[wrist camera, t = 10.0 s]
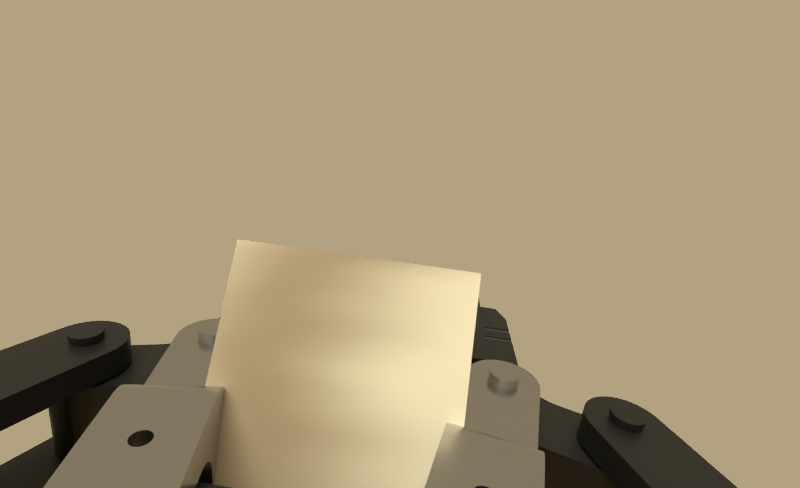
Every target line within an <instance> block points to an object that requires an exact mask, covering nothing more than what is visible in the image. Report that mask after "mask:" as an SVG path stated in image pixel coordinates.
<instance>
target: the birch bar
mask: <svg viewBox="0 0 800 488" xmlns="http://www.w3.org/2000/svg"><path fill="white" fill-rule="evenodd" d="M480 279H481V273H474V272H466V271H460V270H453V269H445V268H439V267H430V266H424V265H417V264H410V263H402V262H395V261H388V260H381V259H374V258H367V257H359V256H353V255H345V254H338V253H331V252H324V251H317V250H309V249H303V248H295V247H289V246H281V245H274V244H267V243H260V242H253V241H246V240H237V245H236V249H235V254H234V258H233V263H232V267H231V272H230V276H229V281H228V285H227V290H226V294H225V299H224V303H223V308H222V312H221V317H220V321H219V325H218V330H217V334H216V339H215V343H214V348H213V352H212V357H211V361H210V366H209V370H208V375H207V379H206V384H205V386H224V387H225V393H224V402H223V411H222V420H221V429H220V438H219V447H218V456H217V465H216V474H215V483H214V485H219V486H225V487H231V488H425V485H426V482H427V479H428V476H429V473H430V470H431V467H432V464H433V461H434V458H435V455H436V452H437V449H438V446H439V443H440V440H441V437H442V434H443V431H444V428H445V426H446V423H447V422H449V423H453V424H456V425H459V426H463V427H464V423H465V414H466V405H467V396H468V387H469V378H470V369H471V360H472V351H473V342H474V333H475V324H476V315H477V306H478V296H479V288H480Z"/></svg>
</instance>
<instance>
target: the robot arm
mask: <svg viewBox="0 0 800 488" xmlns="http://www.w3.org/2000/svg"><path fill="white" fill-rule="evenodd" d="M219 321H220V318H219V319H209V320H203V321H198V322H196V323H193V324H190V325H188V326H186V327H184V328H183V329H182V330H180V331H179V332H178V334H177V335H176V336H175V338H174V340H173V341H172V342H171V344H160V345H131V340H130V331H129V329H128V328H127V327H126V326H124V325H122V324H120V323H116V322H110V321H91V322H84V323H78V324H74V325H71V326H67V327H64V328H62V329H59V330H56V331H53V332H50V333H48V334H45V335H42V336H39V337H37V338H34V339H31V340H28V341H26V342H23V343H20V344H17V345H14V346H12V347H9V348H6V349H3V350H1V351H0V431H1V430H4V429H6V428H8V427H10V426H12V425H14V424H16V423H18V422H20V421H22V420H24V419H26V418H28V417H30V416H32V415H34V414H36V413H39V412H41V411H43V410H45V409H47V408H49V415H50V422H51V428H52V435H53V437H52V438H50V439H49V440H46V441H45V442H43V443H41V444H39V445H37V446H35V447H33V448H32V449H30V450H28V451H26V452H24V453H22V454H21V455H19V456H17V457H15V458H13V459H12V460H9V461H8V462H6V463H4V464H2V465H0V488H231V487H225V486H219V485H214V483H215V474H216V465H217V456H218V447H219V438H220V429H221V420H222V411H223V402H224V393H225V387H224V386H205V384H206V379H207V375H208V370H209V366H210V361H211V357H212V352H213V348H214V343H215V339H216V334H217V330H218V325H219ZM508 331H509V330H508V327H507V323H506V320H505V318H503V316H501V315H500V313H499V312H498V311H496V310H495V309H491V308H484V307H480V303H479V297H478V306H477V315H476V324H475V333H474V342H473V351H472V360H471V369H470V378H469V387H468V396H467V405H466V414H465V423H464V427H463V426H459V425H456V424H453V423H449V422H447V423H446V426H445V428H444V431H443V434H442V437H441V440H440V443H439V446H438V449H437V452H436V455H435V458H434V461H433V464H432V467H431V470H430V473H429V476H428V479H427V482H426V485H425V488H737V487H736V486H735V485H734V484H732V483H731V482H730V481H729V480H728V479H727V478H726V477H724V476H723V475H722V474H721V473H720V472H719V471H717V470H716V469H715V468H714V467H713V466H712V465H710V464H709V463H708V462H707V461H706V460H705V459H704V458H702V457H701V456H700V455H699V454H698V453H697V452H696V451H694V450H693V449H692V448H691V447H690V446H689V445H687V444H686V443H685V442H684V441H683V440H682V439H681V438H679V437H678V436H677V435H676V434H675V433H674V432H672V431H671V430H670V429H669V428H668V427H666V425H664V424H663V423H662V422H661V421H660V420H659V419H657V418H656V417H655V416H654V415H652V414H651V413H650V412H648V411H646V410H645V409H643V408H641V407H639V406H638V405H635V404H633V403H631V402H628V401H625V400H622V399H618V398H613V397H595V398H592V399H590V400H588V401H587V402H586V404H585V406H584V410H583V413H582V414H580V413H576V412H574V411H571V410H568V409H565V408H563V407H560V406H557V405H555V404H552V403H550V402H548V401H546V400H544V399H542V398H540V386H539V383H538V381H537V380H536V379H535V377H534V376H533V375H532V374H530V373H529V372H528V371H526V370H525V369H523V368H521V367H519V366H518V364H517V360H516V357H515V353H514V349H513V345H512V342H511V338H510V334H509V332H508Z"/></svg>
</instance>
